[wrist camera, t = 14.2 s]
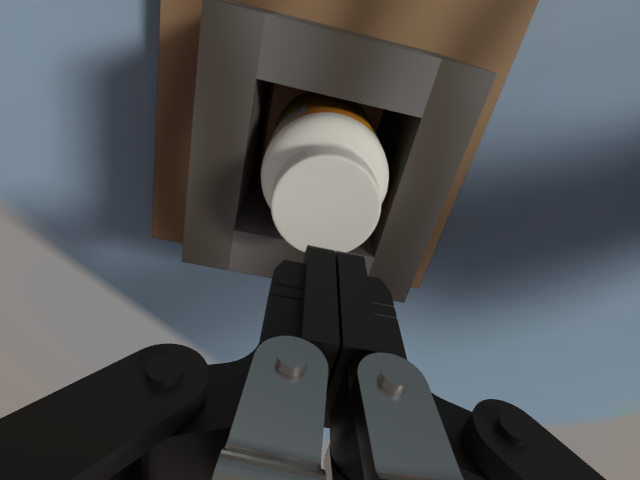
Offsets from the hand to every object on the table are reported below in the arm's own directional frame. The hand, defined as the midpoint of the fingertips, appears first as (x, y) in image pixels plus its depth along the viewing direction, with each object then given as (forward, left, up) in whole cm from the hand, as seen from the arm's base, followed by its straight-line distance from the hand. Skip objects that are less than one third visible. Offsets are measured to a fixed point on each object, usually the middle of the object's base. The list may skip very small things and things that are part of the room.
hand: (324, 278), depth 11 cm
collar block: (0, 0, -17) cm, 17 cm away
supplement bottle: (0, 0, -14) cm, 14 cm away
